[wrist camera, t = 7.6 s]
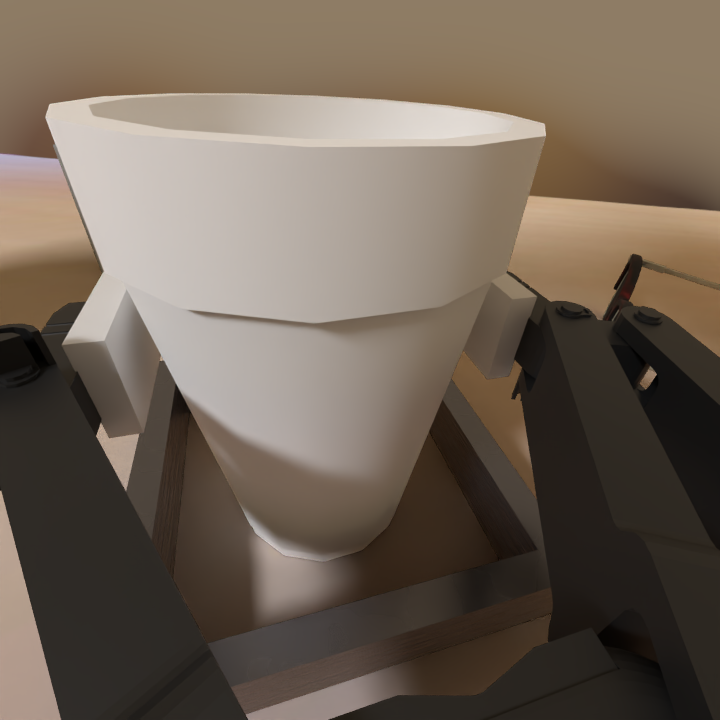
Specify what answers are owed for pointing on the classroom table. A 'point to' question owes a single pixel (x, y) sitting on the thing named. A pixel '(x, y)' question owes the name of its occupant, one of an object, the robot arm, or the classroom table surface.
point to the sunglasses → (628, 283)
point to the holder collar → (378, 613)
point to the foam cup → (303, 278)
